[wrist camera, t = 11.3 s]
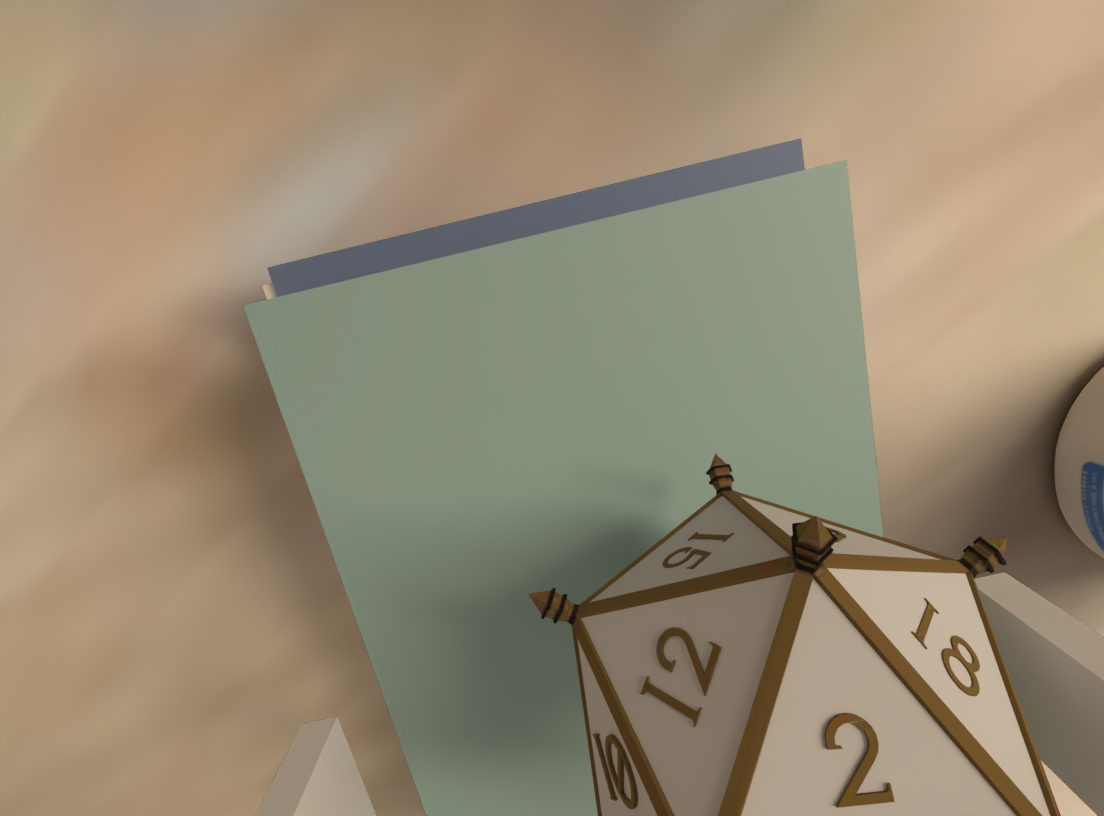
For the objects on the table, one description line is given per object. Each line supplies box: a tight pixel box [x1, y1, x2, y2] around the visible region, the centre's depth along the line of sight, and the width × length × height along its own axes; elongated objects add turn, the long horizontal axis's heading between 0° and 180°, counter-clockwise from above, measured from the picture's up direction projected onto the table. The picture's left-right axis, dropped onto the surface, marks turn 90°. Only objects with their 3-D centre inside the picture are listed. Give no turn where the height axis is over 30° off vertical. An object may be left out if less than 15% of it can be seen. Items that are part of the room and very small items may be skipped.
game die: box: [528, 453, 1061, 816], centre depth 10 cm, size 9×8×10 cm
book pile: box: [243, 139, 884, 816], centre depth 18 cm, size 22×15×6 cm
